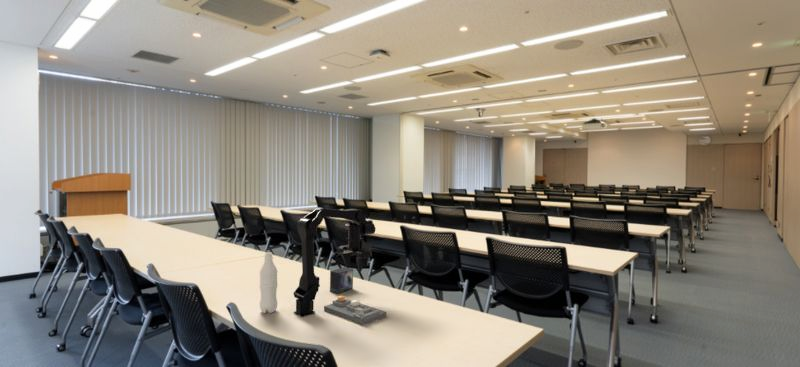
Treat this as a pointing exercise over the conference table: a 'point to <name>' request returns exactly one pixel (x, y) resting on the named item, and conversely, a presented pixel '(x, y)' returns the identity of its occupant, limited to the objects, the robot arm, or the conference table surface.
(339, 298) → the orange button
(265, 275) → the water bottle
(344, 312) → the control panel
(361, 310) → the block
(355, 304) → the white button
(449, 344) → the conference table surface
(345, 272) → the small box
